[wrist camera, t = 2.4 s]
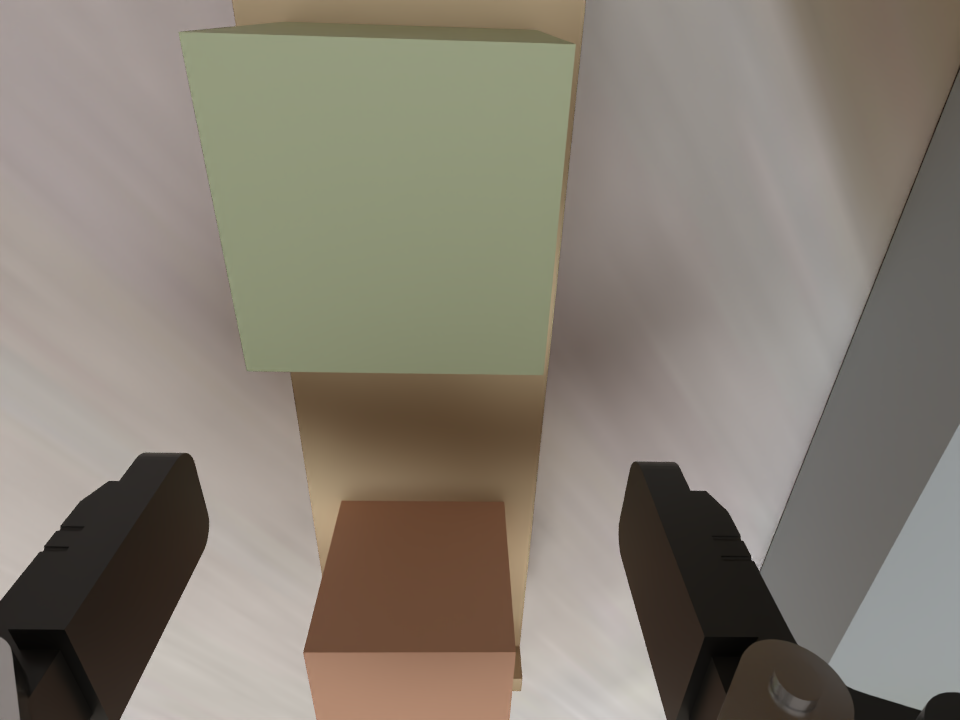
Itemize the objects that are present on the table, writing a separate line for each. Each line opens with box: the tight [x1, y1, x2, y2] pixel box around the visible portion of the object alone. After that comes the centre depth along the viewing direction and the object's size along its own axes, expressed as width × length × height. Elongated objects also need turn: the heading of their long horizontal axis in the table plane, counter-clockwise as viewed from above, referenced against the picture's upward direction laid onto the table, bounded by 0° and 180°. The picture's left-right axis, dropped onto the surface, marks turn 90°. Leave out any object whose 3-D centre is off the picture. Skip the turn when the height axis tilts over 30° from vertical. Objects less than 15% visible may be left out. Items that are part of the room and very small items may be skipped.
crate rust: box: [303, 501, 516, 720], centre depth 14 cm, size 4×4×4 cm
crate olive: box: [179, 22, 576, 375], centre depth 9 cm, size 4×4×4 cm
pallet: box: [232, 0, 586, 691], centre depth 14 cm, size 19×6×4 cm, turn 178°
